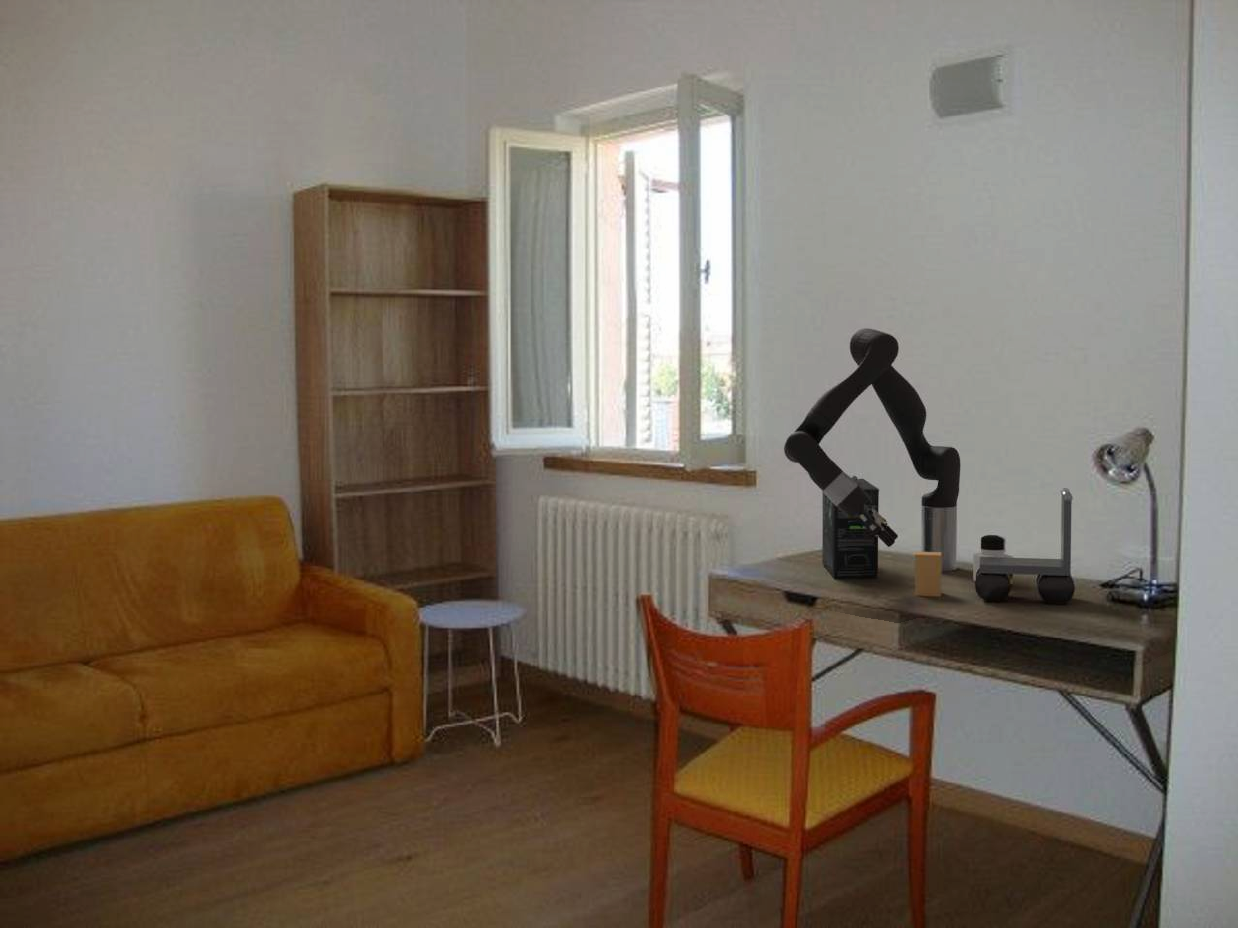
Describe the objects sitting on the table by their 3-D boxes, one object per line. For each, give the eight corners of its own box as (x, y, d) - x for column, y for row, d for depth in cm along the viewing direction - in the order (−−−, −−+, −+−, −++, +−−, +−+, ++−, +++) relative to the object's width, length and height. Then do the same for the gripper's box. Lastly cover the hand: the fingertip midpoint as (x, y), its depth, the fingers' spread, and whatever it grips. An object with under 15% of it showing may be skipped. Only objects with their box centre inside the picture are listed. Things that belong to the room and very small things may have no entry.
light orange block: (916, 591, 302) (916, 551, 301) (941, 592, 300) (941, 552, 299) (915, 595, 298) (915, 554, 297) (940, 596, 296) (940, 555, 295)
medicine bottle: (988, 586, 307) (988, 538, 306) (972, 581, 314) (973, 534, 313) (1013, 584, 309) (1013, 536, 308) (997, 579, 316) (997, 533, 315)
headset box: (879, 578, 320) (879, 480, 317) (833, 579, 320) (833, 481, 318) (864, 564, 342) (864, 471, 340) (821, 564, 342) (820, 472, 340)
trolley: (975, 592, 299) (976, 486, 297) (1071, 596, 293) (1073, 487, 290) (974, 602, 288) (975, 492, 285) (1074, 606, 281) (1076, 493, 279)
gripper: (854, 487, 295) (903, 535, 292) (860, 480, 308) (907, 527, 306) (831, 508, 297) (880, 557, 294) (839, 501, 310) (885, 547, 308)
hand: (893, 541), depth 300 cm, fingers open, 8 cm apart
